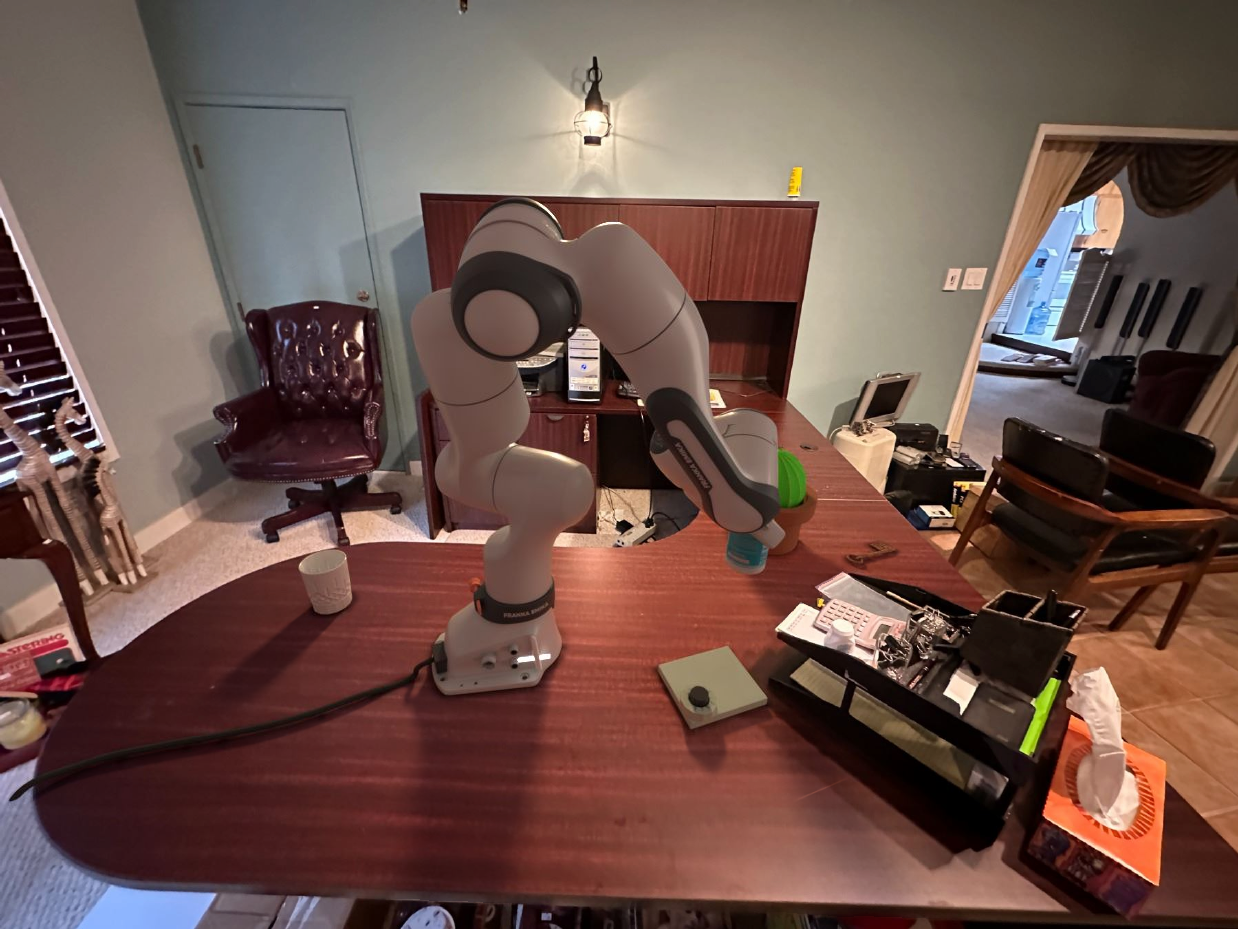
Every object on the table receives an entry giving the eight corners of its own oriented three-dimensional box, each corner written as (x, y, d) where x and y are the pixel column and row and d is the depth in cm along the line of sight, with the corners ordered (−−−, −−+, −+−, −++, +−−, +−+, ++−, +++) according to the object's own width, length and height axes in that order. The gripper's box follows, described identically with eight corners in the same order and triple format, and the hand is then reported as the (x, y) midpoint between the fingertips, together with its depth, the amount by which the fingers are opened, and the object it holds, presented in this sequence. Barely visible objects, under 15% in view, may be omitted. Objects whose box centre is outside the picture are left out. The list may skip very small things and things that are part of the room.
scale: (689, 732, 75) (691, 718, 74) (655, 671, 86) (656, 658, 84) (767, 706, 80) (770, 692, 79) (726, 651, 90) (728, 638, 89)
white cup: (364, 597, 99) (355, 556, 95) (328, 622, 93) (317, 579, 89) (337, 585, 102) (327, 545, 98) (300, 608, 96) (288, 566, 92)
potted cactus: (796, 573, 113) (819, 474, 103) (705, 543, 123) (718, 450, 112) (813, 530, 131) (834, 442, 120) (733, 507, 140) (746, 424, 130)
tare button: (695, 710, 76) (696, 702, 75) (686, 695, 78) (687, 688, 78) (711, 705, 77) (712, 697, 76) (702, 690, 79) (703, 683, 78)
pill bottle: (766, 579, 89) (779, 514, 83) (724, 573, 90) (735, 508, 84) (763, 556, 96) (775, 494, 90) (724, 550, 97) (734, 489, 91)
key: (881, 543, 127) (837, 554, 121) (882, 540, 126) (837, 551, 121) (901, 554, 122) (856, 566, 116) (902, 551, 121) (857, 562, 116)
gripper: (772, 502, 73) (807, 544, 81) (694, 452, 90) (730, 491, 98) (744, 533, 73) (782, 572, 81) (671, 478, 90) (709, 515, 98)
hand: (753, 527), depth 90 cm, fingers closed on pill bottle, 7 cm apart
